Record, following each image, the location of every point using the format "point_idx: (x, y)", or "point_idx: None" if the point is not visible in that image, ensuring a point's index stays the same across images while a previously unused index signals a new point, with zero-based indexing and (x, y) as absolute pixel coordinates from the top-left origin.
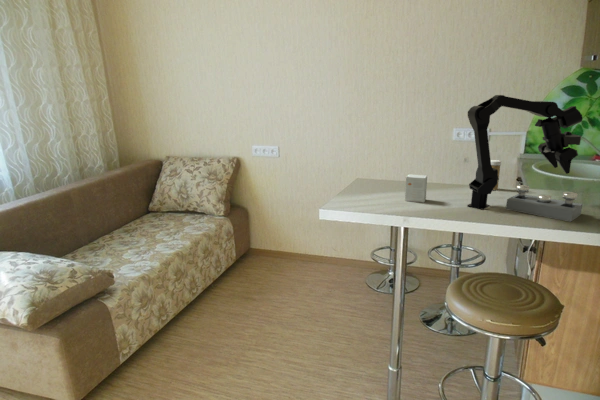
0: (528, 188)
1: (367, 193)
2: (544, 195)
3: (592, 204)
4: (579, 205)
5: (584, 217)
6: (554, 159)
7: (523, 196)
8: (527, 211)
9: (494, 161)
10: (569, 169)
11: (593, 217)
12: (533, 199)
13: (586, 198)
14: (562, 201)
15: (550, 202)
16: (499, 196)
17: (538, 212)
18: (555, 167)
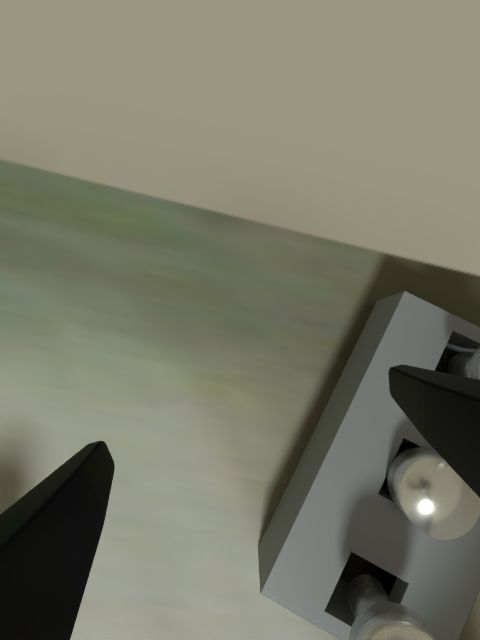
0: (428, 637)
1: None
2: (423, 497)
3: (184, 211)
4: (442, 313)
5: (420, 296)
6: (26, 591)
7: (390, 601)
8: None
9: None
10: (454, 380)
11: (406, 261)
12: (388, 531)
13: (77, 209)
14: (383, 379)
15: (428, 448)
16: (142, 626)
17: None
18: (111, 463)
